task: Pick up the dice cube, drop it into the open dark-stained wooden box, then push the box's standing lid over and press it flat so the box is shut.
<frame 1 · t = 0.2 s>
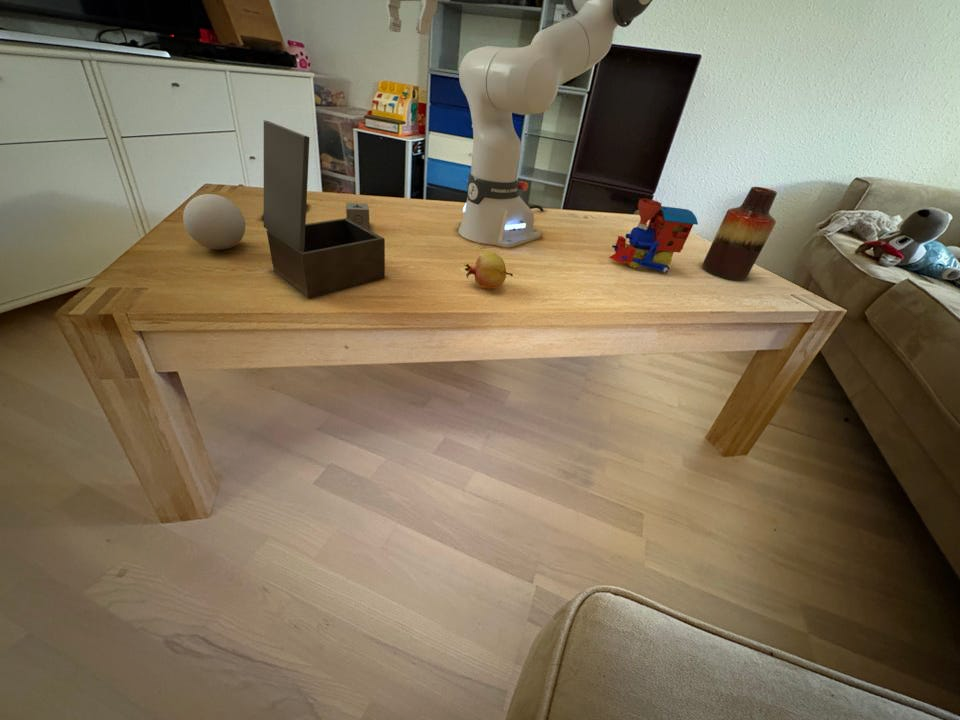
hand: (407, 32, 72), 38 cm above the table, tool pointing down, fingers open, 8 cm apart
lid: (284, 186, 64), point 16 cm above the table, hinge at 80.0°
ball: (221, 248, 82), on the table
box: (330, 274, 78), on the table
toy train: (637, 265, 103), on the table
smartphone: (285, 212, 102), on the table
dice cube: (358, 228, 100), on the table
fruit: (487, 287, 82), on the table
vase: (723, 272, 107), on the table
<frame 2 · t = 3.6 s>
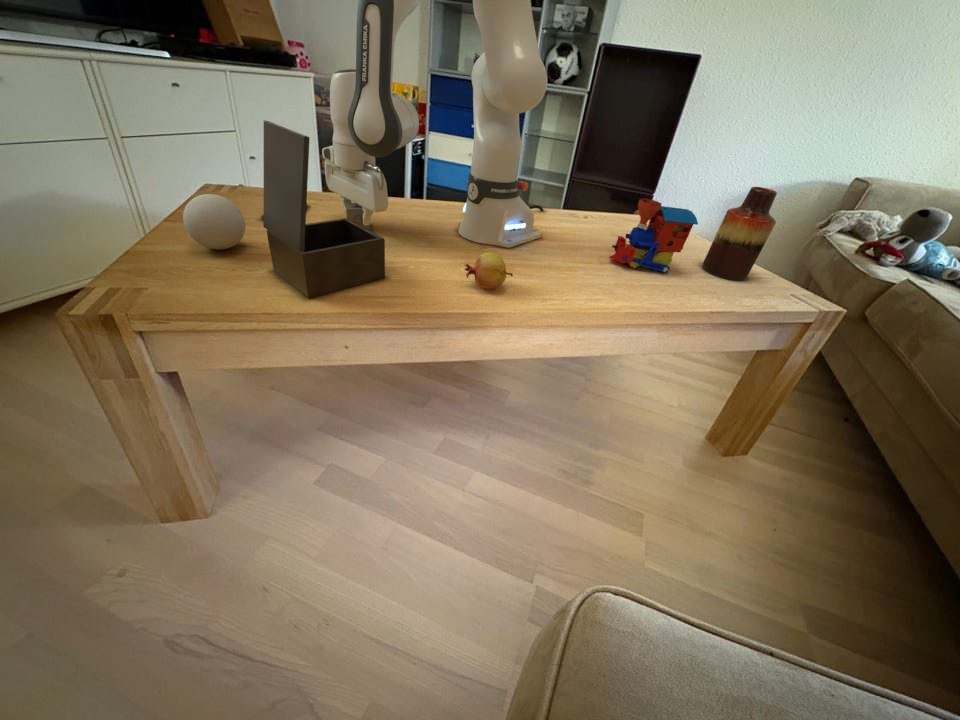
hand: (357, 220, 99), 2 cm above the table, tool pointing down, fingers closed on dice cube, 5 cm apart
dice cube: (358, 228, 100), on the table, touching gripper
everything else where it was.
when the fingers open (9 cm above the table, at t = 10.2 s): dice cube stays where it is, point 7 cm above the table.
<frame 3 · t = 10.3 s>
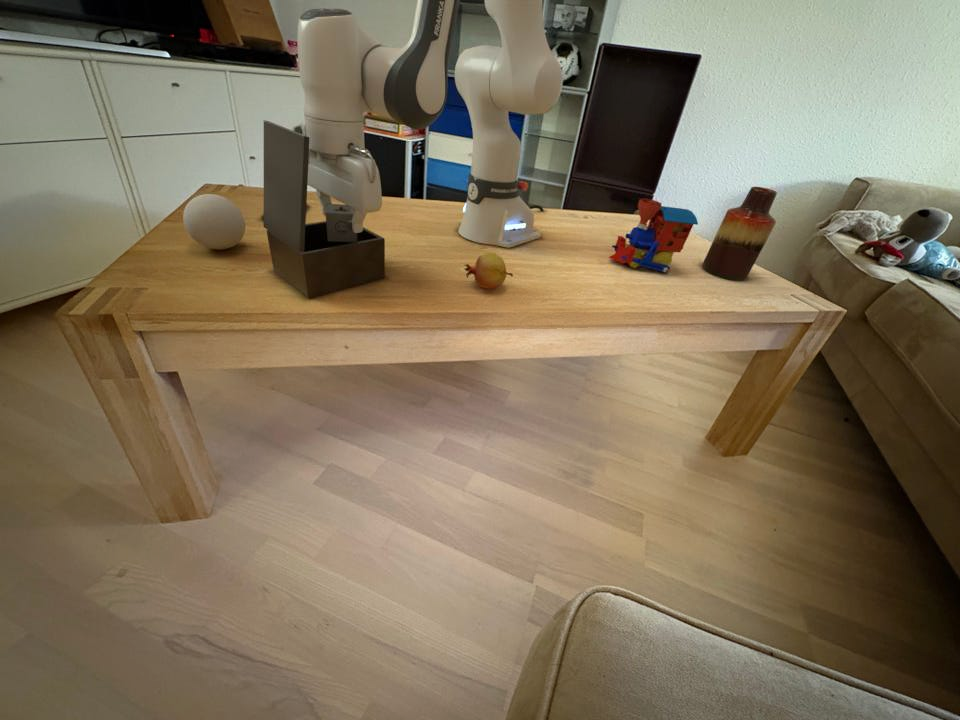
hand: (342, 223, 74), 9 cm above the table, tool pointing down, fingers open, 8 cm apart
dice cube: (342, 237, 76), point 7 cm above the table
everything else where it was.
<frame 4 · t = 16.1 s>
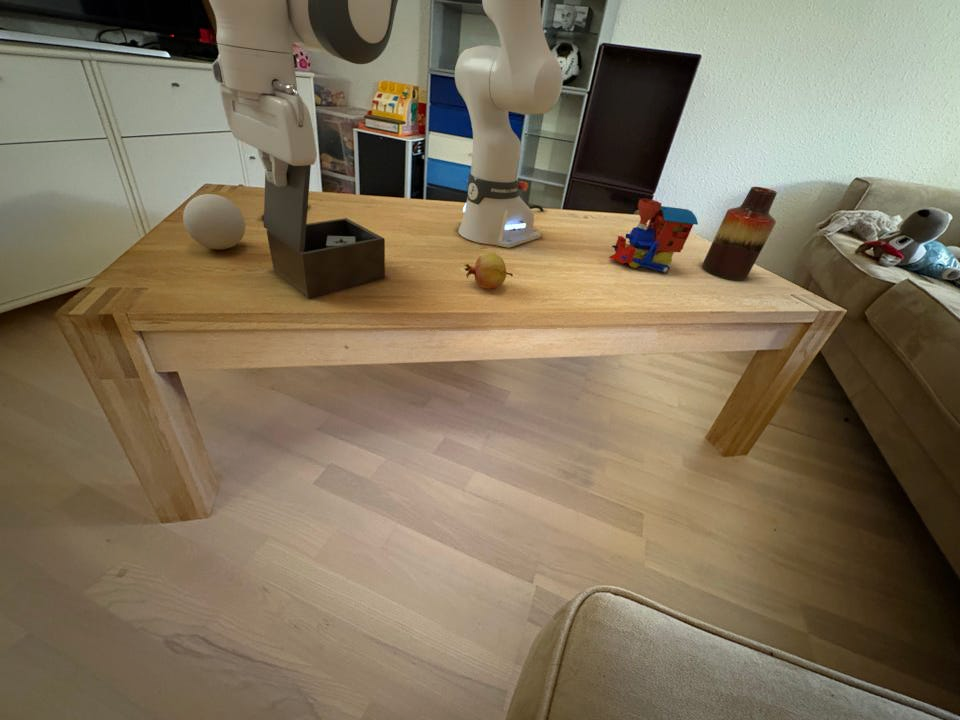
hand: (277, 184, 63), 17 cm above the table, tool pointing down, fingers closed, pressing on lid
lid: (285, 186, 64), point 16 cm above the table, hinge at 78.2°, touching gripper
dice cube: (343, 267, 80), point 1 cm above the table, touching box
everything else where it was.
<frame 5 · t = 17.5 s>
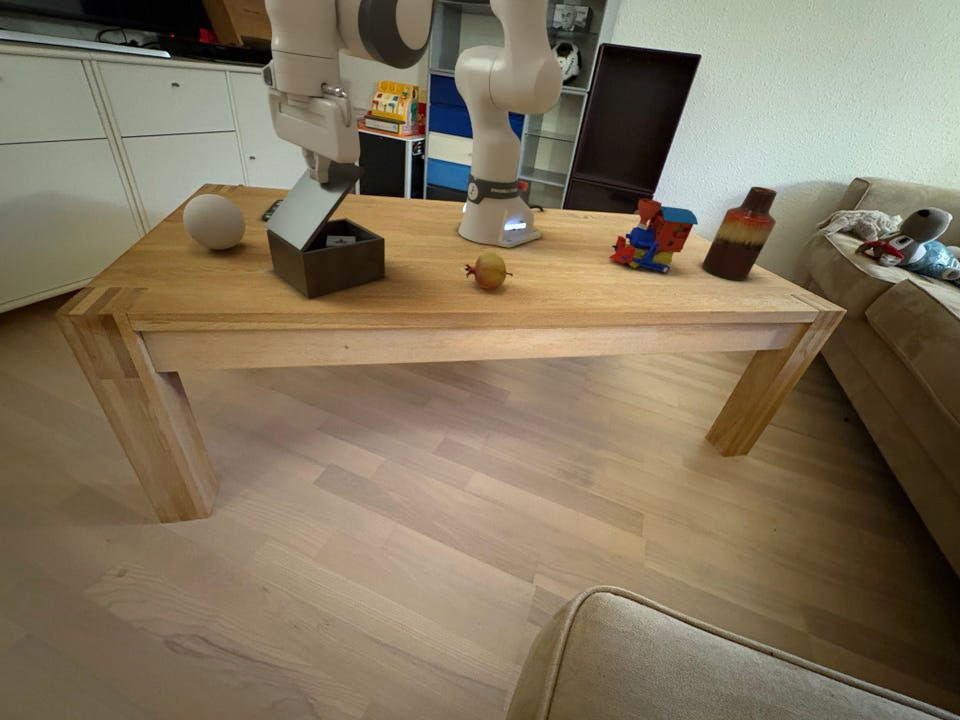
hand: (318, 180, 68), 17 cm above the table, tool pointing down, fingers closed, pressing on lid
lid: (312, 199, 68), point 14 cm above the table, hinge at 44.3°, touching gripper
everything else where it was.
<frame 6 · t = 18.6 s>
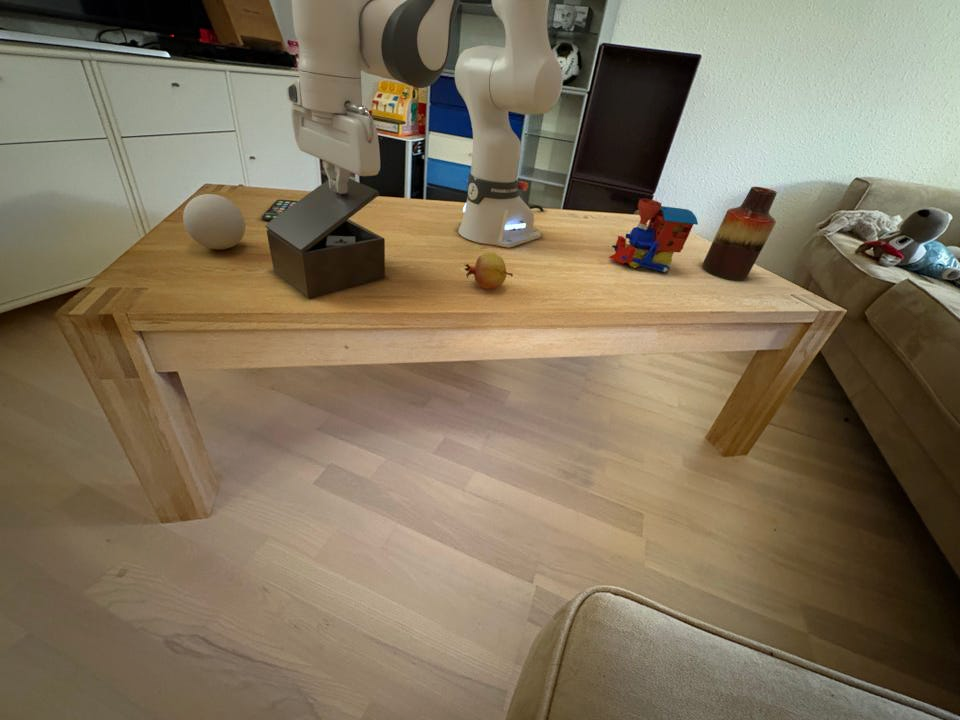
hand: (338, 191, 71), 15 cm above the table, tool pointing down, fingers closed, pressing on lid
lid: (321, 210, 70), point 12 cm above the table, hinge at 27.6°, touching gripper
everything else where it was.
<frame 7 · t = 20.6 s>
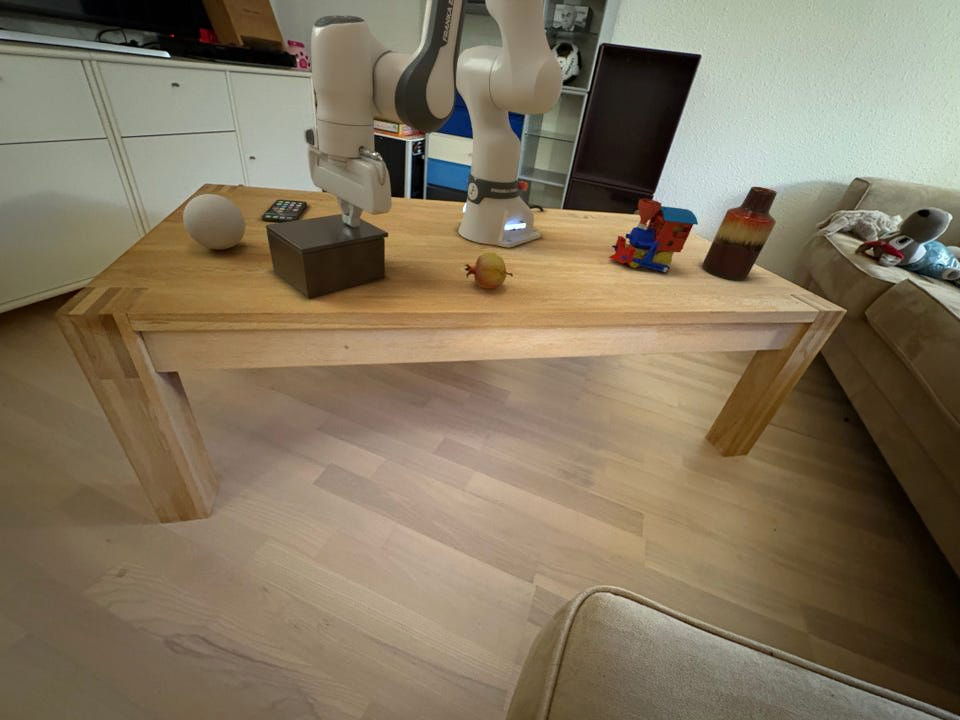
hand: (351, 224, 76), 9 cm above the table, tool pointing down, fingers closed, pressing on lid
lid: (328, 231, 73), point 8 cm above the table, hinge at 0.2°, touching gripper
everything else where it was.
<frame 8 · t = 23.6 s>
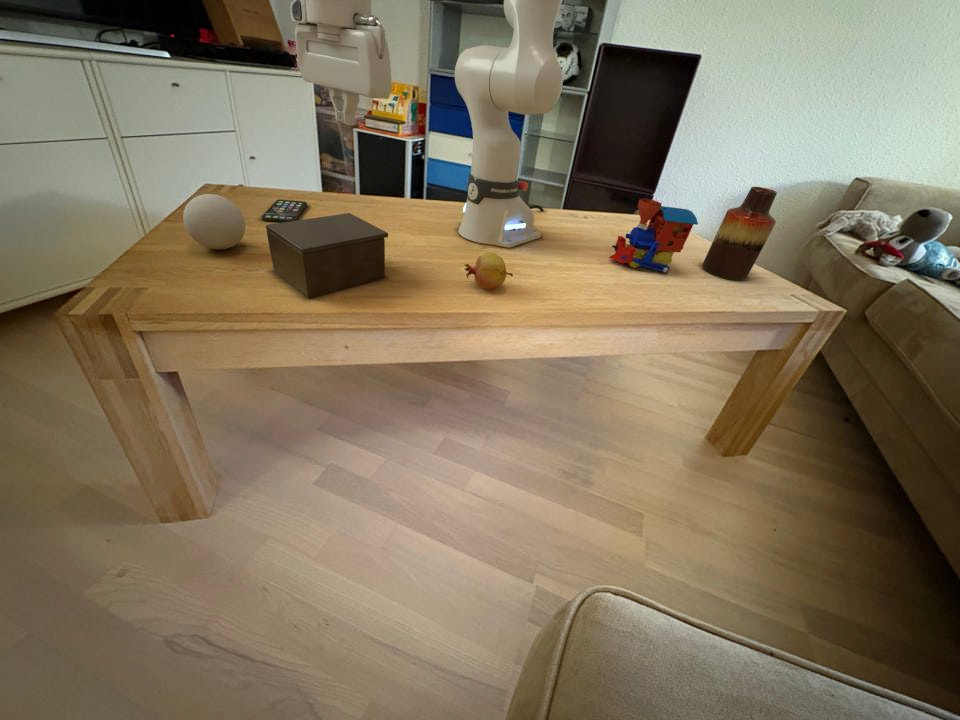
hand: (345, 123, 66), 25 cm above the table, tool pointing down, fingers closed
lid: (328, 231, 73), point 8 cm above the table, hinge at 0.1°
everything else where it was.
at the end: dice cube inside the target area in the box (3.1 cm from its centre), point 0.6 cm above the box's base; lid at +0° (first picture: +80°) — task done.
